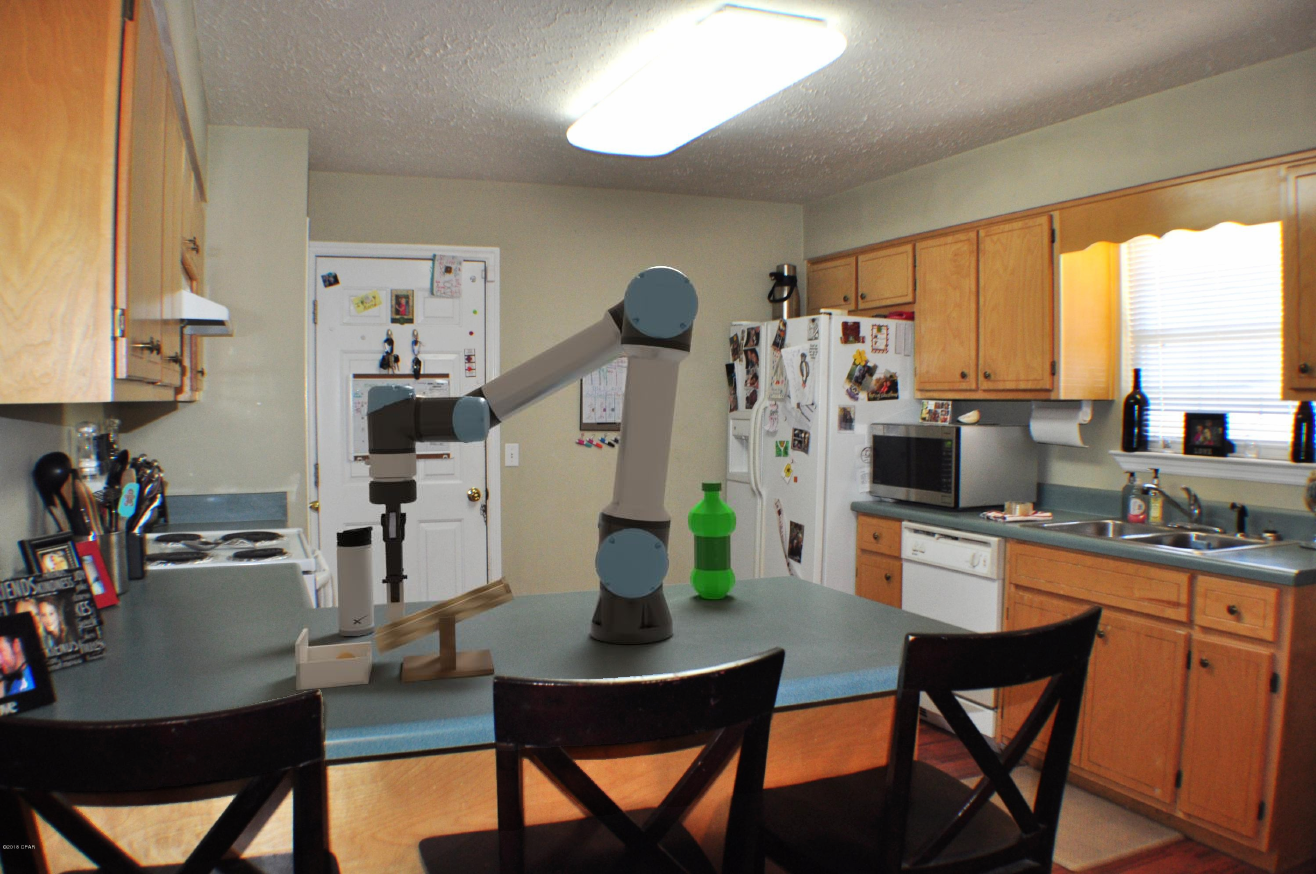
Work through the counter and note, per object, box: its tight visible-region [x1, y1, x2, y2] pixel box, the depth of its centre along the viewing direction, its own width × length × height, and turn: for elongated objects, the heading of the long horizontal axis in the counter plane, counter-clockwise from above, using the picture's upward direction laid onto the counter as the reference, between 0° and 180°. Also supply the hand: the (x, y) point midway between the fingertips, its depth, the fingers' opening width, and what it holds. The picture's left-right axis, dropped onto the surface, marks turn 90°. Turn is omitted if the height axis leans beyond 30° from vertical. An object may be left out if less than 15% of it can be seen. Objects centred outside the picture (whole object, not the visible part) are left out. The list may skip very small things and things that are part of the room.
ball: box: [337, 653, 356, 659], centre depth 134 cm, size 3×3×3 cm
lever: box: [373, 576, 515, 655], centre depth 141 cm, size 22×12×3 cm, turn 105°
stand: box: [401, 615, 495, 683], centre depth 138 cm, size 14×11×9 cm
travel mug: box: [336, 525, 375, 637], centre depth 159 cm, size 6×7×20 cm
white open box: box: [294, 627, 373, 691], centre depth 133 cm, size 10×9×7 cm
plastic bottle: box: [687, 481, 737, 600], centre depth 186 cm, size 10×10×25 cm
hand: (395, 620), depth 141 cm, fingers closed
